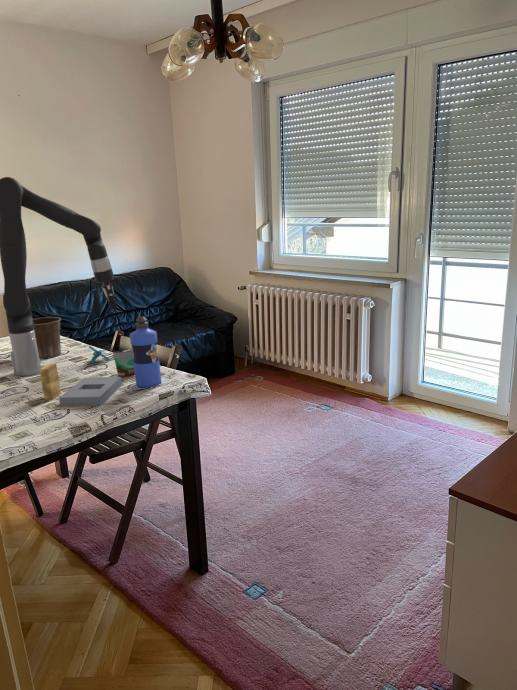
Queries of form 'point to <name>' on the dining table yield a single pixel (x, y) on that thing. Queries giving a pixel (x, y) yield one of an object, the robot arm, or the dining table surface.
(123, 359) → the food container
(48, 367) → the keyed peg
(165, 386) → the dining table surface
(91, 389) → the keyed plate
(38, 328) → the plant pot
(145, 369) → the water bottle
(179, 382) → the dining table surface
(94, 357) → the gear
